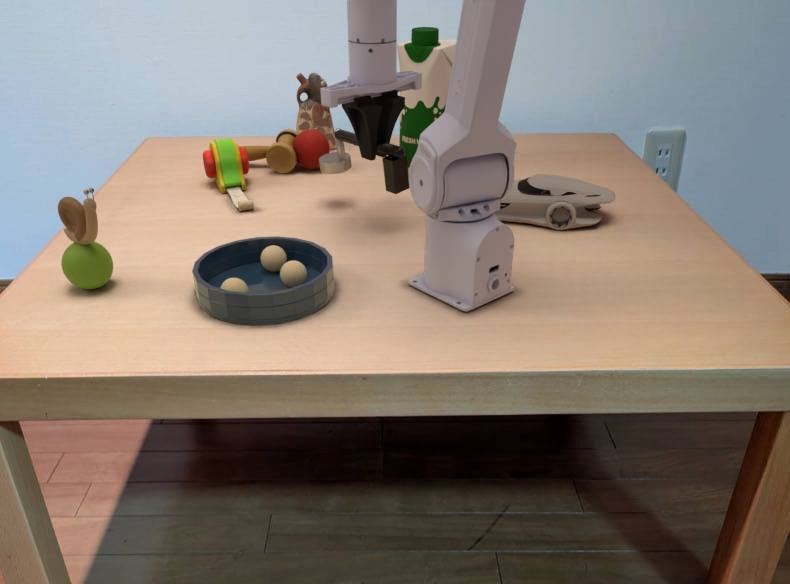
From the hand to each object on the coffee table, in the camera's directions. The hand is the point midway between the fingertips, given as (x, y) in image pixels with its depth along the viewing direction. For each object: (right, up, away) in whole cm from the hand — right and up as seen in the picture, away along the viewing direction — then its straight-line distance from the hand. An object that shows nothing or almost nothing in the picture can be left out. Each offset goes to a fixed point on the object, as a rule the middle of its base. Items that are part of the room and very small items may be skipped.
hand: (374, 156), depth 94 cm
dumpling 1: (-15, -20, -16) cm, 30 cm away
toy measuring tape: (-21, 0, +16) cm, 27 cm away
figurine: (-10, +14, +35) cm, 38 cm away
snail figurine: (-32, -19, -10) cm, 38 cm away
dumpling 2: (-12, -15, -9) cm, 21 cm away
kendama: (-16, +7, +25) cm, 31 cm away
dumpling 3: (-9, -17, -13) cm, 23 cm away
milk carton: (+9, +8, +26) cm, 29 cm away
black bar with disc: (-1, -1, +4) cm, 4 cm away
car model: (+20, -5, +8) cm, 22 cm away
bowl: (-12, -19, -12) cm, 25 cm away
